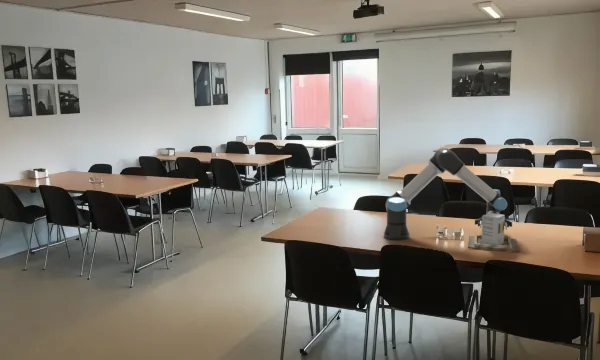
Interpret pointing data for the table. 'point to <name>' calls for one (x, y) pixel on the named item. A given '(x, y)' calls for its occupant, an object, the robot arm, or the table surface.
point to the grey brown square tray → (506, 246)
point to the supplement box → (493, 229)
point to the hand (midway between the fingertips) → (493, 226)
